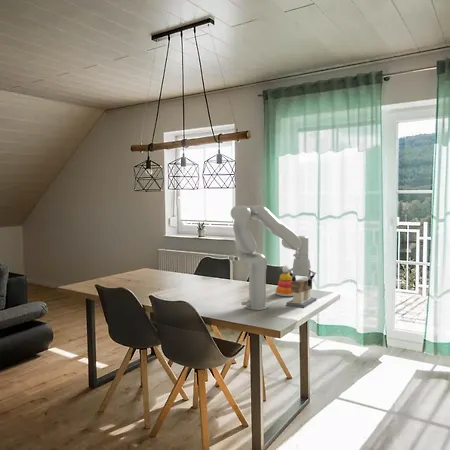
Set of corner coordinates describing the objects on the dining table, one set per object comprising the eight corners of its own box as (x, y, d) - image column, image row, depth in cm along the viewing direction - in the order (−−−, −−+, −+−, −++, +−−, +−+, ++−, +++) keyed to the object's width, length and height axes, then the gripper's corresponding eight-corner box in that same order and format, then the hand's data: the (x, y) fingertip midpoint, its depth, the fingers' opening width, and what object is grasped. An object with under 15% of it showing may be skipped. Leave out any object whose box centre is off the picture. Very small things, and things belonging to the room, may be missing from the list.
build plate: (304, 307, 248) (304, 294, 247) (286, 305, 253) (286, 292, 253) (316, 300, 264) (316, 288, 264) (299, 298, 270) (299, 286, 270)
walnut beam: (298, 293, 251) (298, 283, 251) (291, 291, 255) (291, 281, 254) (312, 288, 262) (312, 279, 262) (304, 287, 266) (305, 278, 265)
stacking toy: (279, 291, 290) (279, 262, 288) (300, 293, 283) (300, 264, 282) (271, 295, 277) (271, 265, 276) (292, 298, 270) (293, 267, 269)
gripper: (285, 256, 258) (285, 284, 260) (313, 258, 249) (313, 287, 250) (291, 254, 265) (290, 282, 266) (318, 256, 256) (317, 285, 257)
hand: (301, 285), depth 258 cm, fingers open, 9 cm apart
